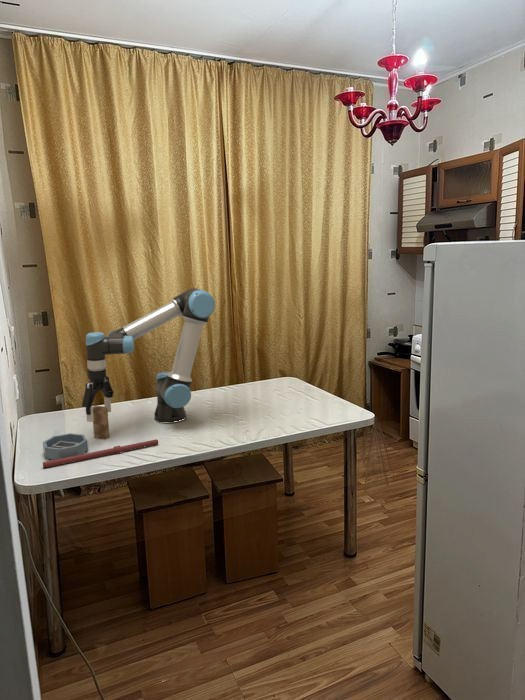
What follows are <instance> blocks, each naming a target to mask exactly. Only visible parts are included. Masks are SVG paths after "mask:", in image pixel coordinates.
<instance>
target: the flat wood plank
mask: <svg viewBox="0 0 525 700" xmlns="http://www.w3.org/2000/svg"><path fill="white" fill-rule="evenodd" d="M92 407H93V421H94V422H92V426H93V427H92V428H93V438H94V439H97V438H98V440H99V439H100V440H108V439H109V438H110V425H109V424H110V423H109V412H108V409H107V407H105V406H102V405H100V406H99V405H94V406H92Z"/></svg>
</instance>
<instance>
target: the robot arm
mask: <svg viewBox="0 0 525 700" xmlns="http://www.w3.org/2000/svg"><path fill="white" fill-rule="evenodd" d="M215 309H216V302H215V298H214V296H213V295H211V294H210V292H208V291H206V290H204V289H199V288H195V287H193V288H189V289H186V290H184V291H183V292H182V293H180V294H178V295H176V296H174V297H172V298H171V301H170V302H168V303H166V304H164V305H163V306H160V307H158V308H156V309H154V310H153V311H151V312H149V313H147V314H145V315H143V316H141V317H140V318H137V319H136V320H135V319H134V321H131V322H129V323H128V324H126V325H124V326H122V327H121V328H118V329H116V330H112V331H111V330H110V332H109V333H108V334H107V336H105V333H104V332H99V331H98V332H97V331H95V332H93V331H92V332H89V333H87V334H86V335H85V349H86V363H87V364H86V365H87V378H88V379H89V380H90V382H89V383H87V382H86V383H85V389H84V394H83V399H82V402H81V403H82V404H81V407H82V408H85V416H86V423H87V422H89V423H93V422H94V421H93V407H94V406H93V404H94V400H95V397H96V394H97V393H99V391H101V392H102V394H103V395H104V396H105V397H104V398H103V399H104V401H103V402H104V407H107V409H108V413H112V402H111V401H112V399H111V398H113V397H114V390H113V388H112V386H111V385H112V384H111V383H110V377H109V376H107V369H106V368H107V362H106V355H107V356H108V355H109V356H110V355H121V354H122V355H127V354H133V352H134V351H135V340H137V339H139V338H140V337H142V336H144V335H146V334H147V333H149V332H152V331H153V330H156V329H158V328H160V327H161V326H163V325H165V324H166V323H168V322H170V321H172V320H174V319H177V318H178V317H181V318H183V320H184V322H183V326H182V330H181V332H180V333H181V334H180V338H179V340H178V345H177V349H176V351H175V352H176V353H175V356H174V361H173V365H172V367H171V371H162V372H161V371H160V372H159V373H157V374H156V376H155V381H156V398H157V399H156V401H157V402H156V403H157V404H156V408H155V411H154V416H153V417H154V418H153V419H154V421H155V420H157V421H159V422H158V423H160V422H174V421H179V420H182V419H184V418H185V417H186V418H187V411H186V410H185V406H186V405H188V404H189V402H190V401H191V398H192V390H191V386H192V383H193V379H192V377H191V373H192V371H193V367H194V366H193V365H194V362H195V358H196V355H197V350H198V346H199V344H200V340H201V335H202V332H203V328H204V326H205V325H206V324H208V322H209V319H210V316H212V315H213V312H214V311H215ZM186 418H185V419H186ZM185 419H184V420H185ZM157 421H156V422H157ZM182 421H183V420H182Z"/></svg>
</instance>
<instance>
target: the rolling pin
mask: <svg viewBox="0 0 525 700" xmlns="http://www.w3.org/2000/svg"><path fill="white" fill-rule="evenodd" d="M155 444H158V445H159V440H158V439H157V438H156V439H151V440H147V441H142V442H136V443H132V444H126V445H116V446H113V447H112V448H107V449H102V450H96V451H93V452H86V453H85V454H81V455H76V456H71V457H66V458H61V459H56V460H47V461H43V462H42V468H43V467H47V468H51V467H56V466H61V465H66V464H70V463H76V462H80V461H84V460H90V459H94V458H99V457H103V456H104V455H105V456H108V455H109V454H110V455H113V453H114V454H115V453H119V454H121V453H123V452H122V451H124V452H128V451H127V450H129V451H132V450H131V449H134V450H136V449H135V448H139V449H141V448H140V447H143V448H145V447H144V446H148V447H151V446H150V445H153V446H156V445H155ZM120 452H121V453H120ZM50 466H51V467H50Z"/></svg>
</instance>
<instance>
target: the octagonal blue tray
mask: <svg viewBox="0 0 525 700" xmlns="http://www.w3.org/2000/svg"><path fill="white" fill-rule="evenodd" d="M42 449H43V453H44V457H45V458H46V459H47V458H48V459H47V460H49V459H51V460H56V459H61V458H66V457H71V456H76V455H81V454H84V453H85V454H86V453H87V452H86V451H88V450H89V443H88V439H87V437H86V436H85V434H81V433H80V434H79V433H71V432H69V433H65V434H59V435H53V436H51V437H50V438H47V440H44V441H43V442H42ZM51 460H50V461H51Z"/></svg>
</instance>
